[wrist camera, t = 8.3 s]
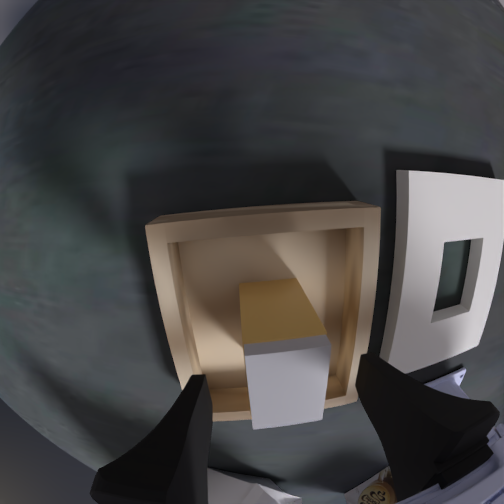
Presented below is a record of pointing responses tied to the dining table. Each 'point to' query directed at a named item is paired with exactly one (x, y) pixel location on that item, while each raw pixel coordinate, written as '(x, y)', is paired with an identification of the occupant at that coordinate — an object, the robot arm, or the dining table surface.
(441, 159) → the dining table surface
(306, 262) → the parts tray
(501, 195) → the socket block
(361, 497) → the coffee box
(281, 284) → the block
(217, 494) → the white irregular angular block
